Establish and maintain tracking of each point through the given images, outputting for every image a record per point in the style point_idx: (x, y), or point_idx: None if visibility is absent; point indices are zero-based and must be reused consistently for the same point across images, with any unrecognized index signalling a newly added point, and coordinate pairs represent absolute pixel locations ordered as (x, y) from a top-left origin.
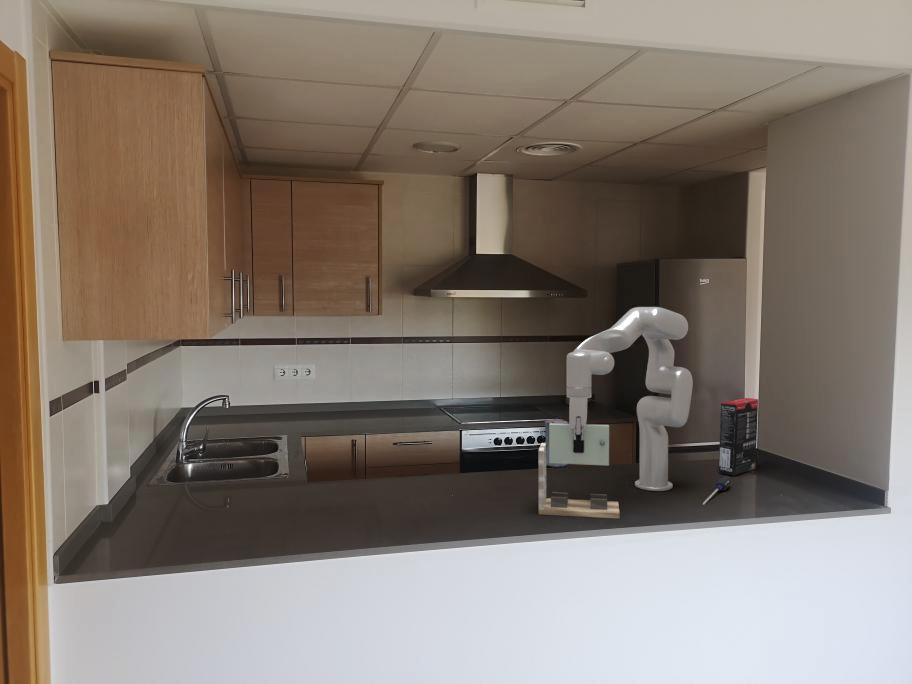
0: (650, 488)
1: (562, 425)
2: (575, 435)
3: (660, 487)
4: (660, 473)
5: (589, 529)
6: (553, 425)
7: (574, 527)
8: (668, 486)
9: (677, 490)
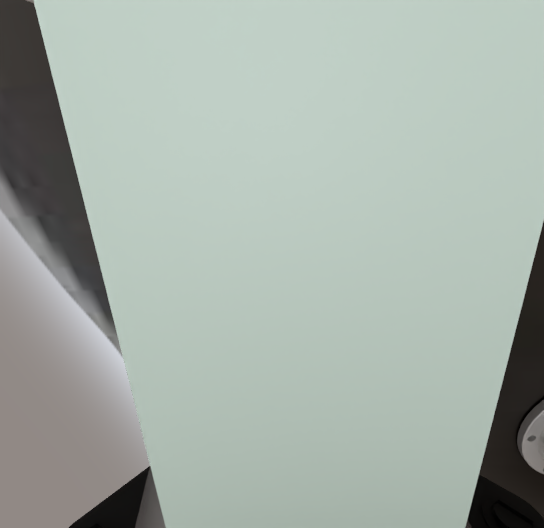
0: (527, 425)
1: (168, 499)
2: (149, 506)
3: (530, 450)
4: None
5: (67, 259)
6: (82, 159)
7: (65, 208)
8: (540, 468)
9: (526, 476)
